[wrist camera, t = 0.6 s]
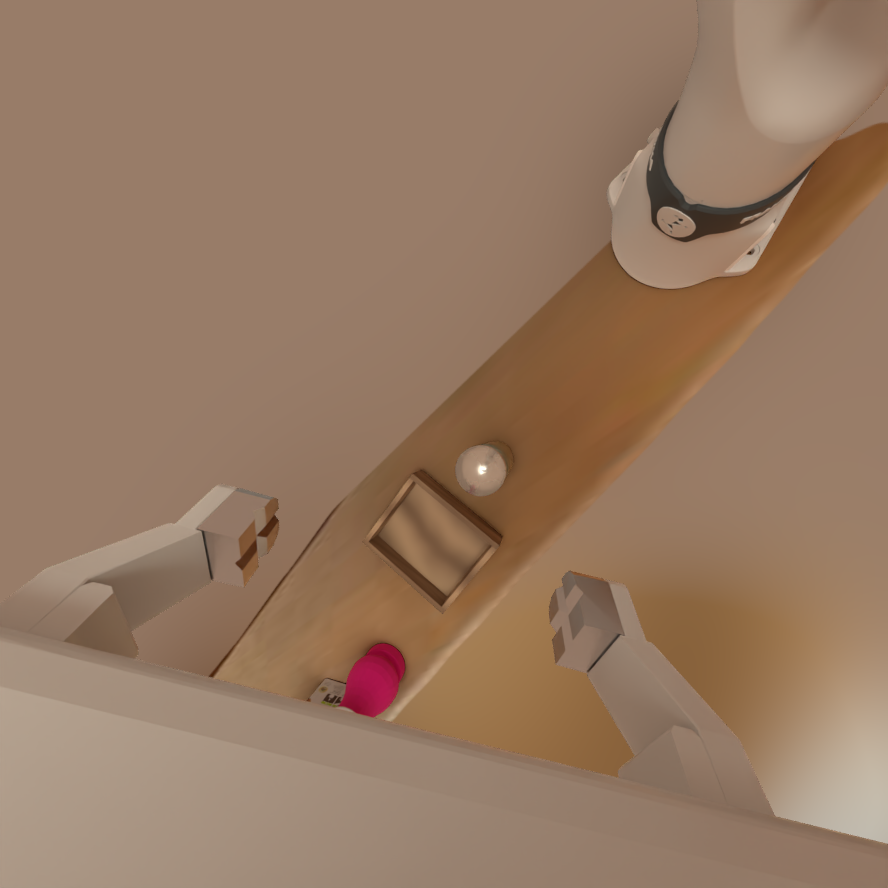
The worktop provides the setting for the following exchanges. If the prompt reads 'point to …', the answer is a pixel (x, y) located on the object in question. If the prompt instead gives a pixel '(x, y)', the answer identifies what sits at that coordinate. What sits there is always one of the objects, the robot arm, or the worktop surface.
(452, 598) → the crate
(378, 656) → the pepper mill
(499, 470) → the spice tin
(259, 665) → the worktop surface
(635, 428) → the worktop surface
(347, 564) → the worktop surface
